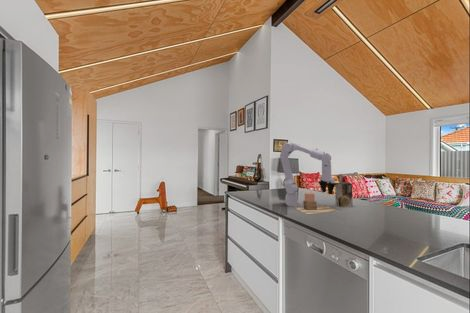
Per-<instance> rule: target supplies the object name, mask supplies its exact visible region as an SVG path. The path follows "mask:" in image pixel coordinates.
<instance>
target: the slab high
mask: <svg viewBox="0 0 470 313" xmlns="http://www.w3.org/2000/svg"><path fill="white" fill-rule="evenodd" d="M302 203H303V204H302V205H303V206H304V205H306V206H317V201H316V200H315V202H307V201H305V199H304V200H303V202H302Z"/></svg>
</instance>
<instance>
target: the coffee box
mask: <svg viewBox="0 0 470 313" xmlns="http://www.w3.org/2000/svg"><path fill="white" fill-rule="evenodd" d="M335 183H336V185H335V186H334V192H335V193H334V194H335V195H334V196H335V197H334V198H335V206H336V207H339V208H348V207H349V208H351V207H352V208H353V185H352V184H353V183H352V182H351V183H350V182H335Z"/></svg>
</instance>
